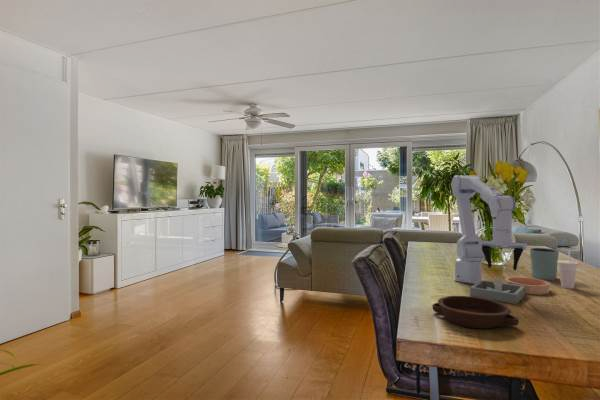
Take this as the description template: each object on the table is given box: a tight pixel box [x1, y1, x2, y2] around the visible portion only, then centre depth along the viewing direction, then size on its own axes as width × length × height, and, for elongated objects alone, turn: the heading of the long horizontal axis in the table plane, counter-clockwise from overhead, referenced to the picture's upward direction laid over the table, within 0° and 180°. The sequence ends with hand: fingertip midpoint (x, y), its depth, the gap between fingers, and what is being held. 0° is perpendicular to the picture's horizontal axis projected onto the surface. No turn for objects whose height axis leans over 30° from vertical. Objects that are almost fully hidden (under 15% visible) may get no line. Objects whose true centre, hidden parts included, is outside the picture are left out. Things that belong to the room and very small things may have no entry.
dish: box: [431, 295, 520, 330], centre depth 97 cm, size 17×22×5 cm
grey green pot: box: [529, 247, 560, 281], centre depth 146 cm, size 10×10×12 cm
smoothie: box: [557, 250, 579, 290], centre depth 130 cm, size 6×6×14 cm
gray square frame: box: [469, 279, 526, 305], centre depth 121 cm, size 14×14×3 cm
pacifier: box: [487, 277, 510, 293], centre depth 120 cm, size 7×6×6 cm
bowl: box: [504, 276, 551, 295], centre depth 128 cm, size 14×14×3 cm
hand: (502, 268), depth 121 cm, fingers open, 7 cm apart
